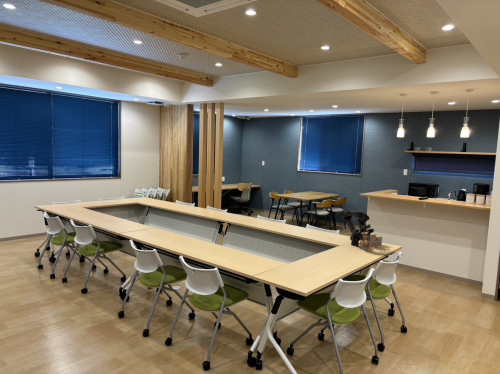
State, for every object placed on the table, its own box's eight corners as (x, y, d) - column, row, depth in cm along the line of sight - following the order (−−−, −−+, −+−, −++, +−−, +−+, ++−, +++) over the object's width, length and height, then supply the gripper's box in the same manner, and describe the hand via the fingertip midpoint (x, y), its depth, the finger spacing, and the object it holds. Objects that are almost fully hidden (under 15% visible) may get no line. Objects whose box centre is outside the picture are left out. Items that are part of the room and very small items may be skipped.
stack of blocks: (376, 243, 358) (377, 232, 356) (381, 245, 352) (382, 233, 351) (361, 245, 347) (362, 233, 346) (366, 247, 342) (367, 235, 340)
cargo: (361, 243, 329) (361, 240, 327) (365, 243, 329) (365, 239, 328) (363, 246, 325) (363, 242, 324) (367, 245, 326) (367, 241, 324)
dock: (359, 250, 330) (359, 248, 329) (364, 247, 339) (364, 246, 339) (368, 252, 324) (368, 250, 324) (373, 249, 333) (373, 248, 333)
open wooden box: (359, 244, 330) (360, 233, 326) (365, 244, 331) (367, 233, 327) (362, 247, 324) (364, 236, 321) (368, 247, 325) (370, 236, 322)
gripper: (355, 221, 322) (359, 237, 315) (374, 220, 325) (379, 236, 318) (351, 225, 332) (354, 241, 325) (369, 225, 335) (373, 240, 328)
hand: (365, 240), depth 324 cm, fingers closed on open wooden box, 6 cm apart
